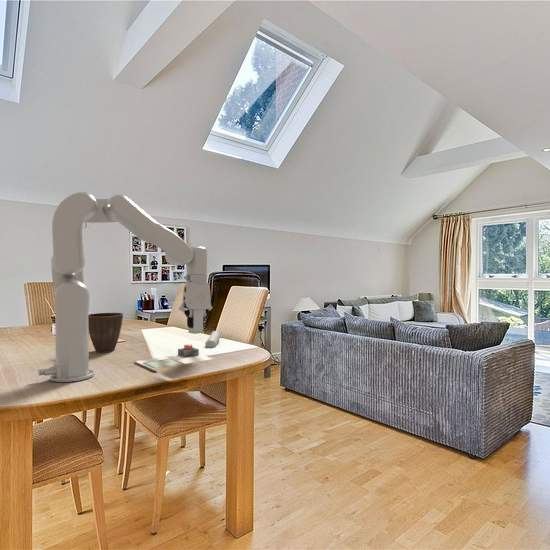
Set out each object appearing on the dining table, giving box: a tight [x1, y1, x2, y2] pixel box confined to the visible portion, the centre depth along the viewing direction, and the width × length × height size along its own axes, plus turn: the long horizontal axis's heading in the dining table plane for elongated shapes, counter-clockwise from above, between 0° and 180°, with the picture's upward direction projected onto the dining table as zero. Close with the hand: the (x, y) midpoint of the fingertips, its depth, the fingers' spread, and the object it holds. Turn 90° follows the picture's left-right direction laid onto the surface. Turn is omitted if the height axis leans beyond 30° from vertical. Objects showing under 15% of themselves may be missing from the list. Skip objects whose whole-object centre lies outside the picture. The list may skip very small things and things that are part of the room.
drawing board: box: [133, 346, 215, 374], centre depth 146 cm, size 25×17×4 cm
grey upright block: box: [188, 309, 204, 335], centre depth 148 cm, size 4×4×11 cm
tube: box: [204, 330, 222, 349], centre depth 183 cm, size 5×5×25 cm
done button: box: [183, 344, 193, 350], centre depth 155 cm, size 3×3×2 cm
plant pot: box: [88, 312, 124, 354], centre depth 169 cm, size 15×15×16 cm
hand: (195, 326), depth 148 cm, fingers closed on grey upright block, 4 cm apart
